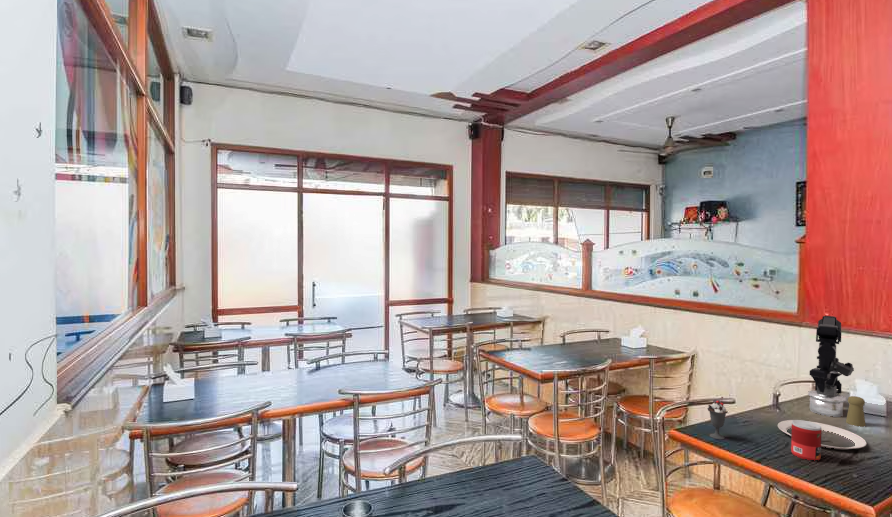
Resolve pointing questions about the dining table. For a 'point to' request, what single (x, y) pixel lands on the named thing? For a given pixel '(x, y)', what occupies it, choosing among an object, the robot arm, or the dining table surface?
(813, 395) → the cooker lid
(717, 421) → the sundae
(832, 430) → the plate
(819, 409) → the cooker pot
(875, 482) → the dining table surface
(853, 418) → the cork
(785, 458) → the dining table surface
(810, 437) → the canned food
